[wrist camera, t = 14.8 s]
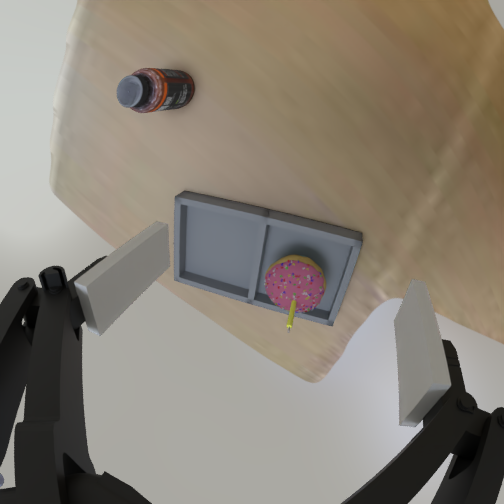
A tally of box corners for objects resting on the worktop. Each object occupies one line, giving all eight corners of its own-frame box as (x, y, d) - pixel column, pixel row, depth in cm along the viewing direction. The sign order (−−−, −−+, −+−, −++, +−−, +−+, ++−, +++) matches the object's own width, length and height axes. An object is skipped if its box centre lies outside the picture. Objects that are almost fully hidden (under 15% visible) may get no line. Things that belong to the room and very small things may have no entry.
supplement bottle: (161, 71, 38) (111, 68, 28) (197, 70, 36) (151, 64, 27) (159, 108, 41) (109, 115, 31) (193, 109, 39) (147, 115, 30)
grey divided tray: (361, 232, 41) (362, 241, 38) (333, 314, 48) (332, 326, 46) (184, 190, 46) (174, 196, 43) (182, 271, 53) (174, 280, 51)
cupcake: (334, 287, 45) (327, 341, 35) (283, 297, 48) (263, 348, 38) (319, 236, 42) (307, 282, 32) (264, 249, 46) (237, 295, 35)
